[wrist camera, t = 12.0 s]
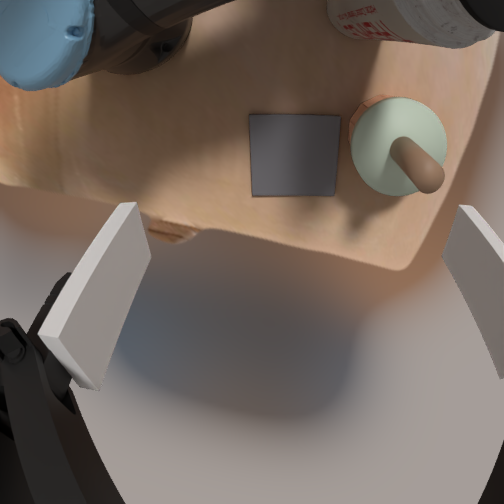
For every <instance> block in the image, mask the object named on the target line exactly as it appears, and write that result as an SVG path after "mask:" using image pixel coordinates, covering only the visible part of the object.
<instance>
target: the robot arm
mask: <svg viewBox="0 0 504 504" xmlns="http://www.w3.org/2000/svg"><path fill="white" fill-rule="evenodd" d="M232 1H235V0H0V75H1V76H2V77H3V79H4V80H5V81H7V82H8V83H9V84H10V85H12V86H14V87H18V88H21V89H23V90H25V91H37V90H42V89H46V88H53V87H55V88H56V87H59V86H60V85H64V84H65V83H67V82H69V81H70V80H73V79H76V78H79V77H82V76H85V75H88V74H91V73H94V72H97V71H101V70H106V71H108V72H111V73H115V74H123V75H129V74H137V73H141V72H145V71H148V70H151V69H153V68H156V67H158V66H160V65H162V64H163V63H165V62H166V61H168V60H169V59H170V58H171V57H172V56H174V55H175V54H176V53H177V51H178V50H179V49H180V48H181V46H182V45H183V43H184V42H185V40H186V38H187V36H188V34H189V31H190V28H191V24H192V17H194V16H196V15H198V14H201V13H203V12H206V11H208V10H211V9H213V8H216V7H218V6H221V5H224V4H226V3H229V2H232ZM442 258H443V260H444V262H445V264H446V265H447V267H448V269H449V271H450V272H451V274H452V276H453V278H454V279H455V282H456V283H457V285H458V287H459V289H460V291H461V293H462V295H463V297H464V299H465V301H466V303H467V305H468V307H469V309H470V311H471V313H472V315H473V317H474V319H475V321H476V323H477V325H478V328H479V330H480V332H481V334H482V337H483V339H484V341H485V343H486V346H487V348H488V350H489V353H490V355H491V358H492V360H493V363H494V365H495V367H496V370H497V373H498V375H499V378H500V379H502V378H504V244H503V243H502V241H501V240H500V239H499V237H498V236H497V235H496V234H495V232H494V231H493V230H492V229H491V227H489V225H488V224H487V223H486V221H485V220H484V219H483V218H482V217H481V216H480V214H479V213H478V212H477V211H476V210H475V209H474V207H473V206H468V205H459V207H458V210H457V213H456V216H455V219H454V222H453V225H452V228H451V231H450V235H449V238H448V240H447V243H446V246H445V248H444V251H443V254H442ZM150 259H151V254H150V250H149V247H148V243H147V239H146V236H145V232H144V228H143V224H142V221H141V217H140V213H139V209H138V205H137V202H129V203H120V204H119V205H118V206H117V208H116V209H115V211H114V212H113V213H112V215H111V216H110V217H109V219H108V220H107V222H106V223H105V225H104V226H103V227H102V229H101V230H100V232H99V233H98V235H97V236H96V238H95V239H94V240H93V242H92V244H91V245H90V246H89V248H88V249H87V251H86V252H85V254H84V255H83V257H82V258H81V260H80V262H79V263H78V265H77V266H76V268H75V269H74V271H73V273H66V274H65V275H64V276H63V277H62V278H61V279H60V280H59V281H57V283H56V284H55V286H54V288H53V289H52V291H51V292H50V296H48V297H47V299H46V301H45V304H44V305H43V306H42V307H41V309H40V311H39V313H38V314H37V316H36V318H35V320H34V321H33V324H32V325H31V327H30V329H29V331H28V332H27V334H26V333H25V332H24V330H23V329H22V328H21V326H20V325H19V323H18V322H17V321H16V320H14V319H13V318H12V319H11V318H6V319H4V320H1V321H0V504H125V502H124V501H123V499H122V497H121V495H120V494H119V492H118V490H117V488H116V486H115V485H114V483H113V481H112V479H111V478H110V475H109V473H108V472H107V470H106V468H105V466H104V464H103V462H102V460H101V458H100V456H99V453H98V451H97V449H96V447H95V445H94V443H93V440H92V438H91V436H90V434H89V432H88V429H87V427H86V424H85V422H84V420H83V417H82V415H81V412H80V410H79V407H78V404H77V402H76V399H75V396H74V394H73V391H72V390H71V388H70V387H69V384H70V381H71V379H72V378H73V380H74V381H75V382H76V383H77V384H78V385H79V387H82V388H86V389H91V390H96V391H100V388H101V385H102V382H103V379H104V376H105V373H106V370H107V367H108V364H109V361H110V359H111V356H112V353H113V351H114V348H115V345H116V342H117V340H118V337H119V334H120V332H121V329H122V327H123V324H124V321H125V319H126V316H127V314H128V311H129V308H130V306H131V304H132V301H133V299H134V296H135V294H136V292H137V289H138V287H139V284H140V282H141V280H142V277H143V275H144V273H145V270H146V268H147V266H148V264H149V261H150ZM478 504H504V441H503V444H502V447H501V450H500V452H499V455H498V458H497V460H496V463H495V466H494V468H493V471H492V473H491V475H490V478H489V480H488V482H487V485H486V487H485V489H484V491H483V493H482V496H481V498H480V500H479V502H478Z"/></svg>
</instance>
